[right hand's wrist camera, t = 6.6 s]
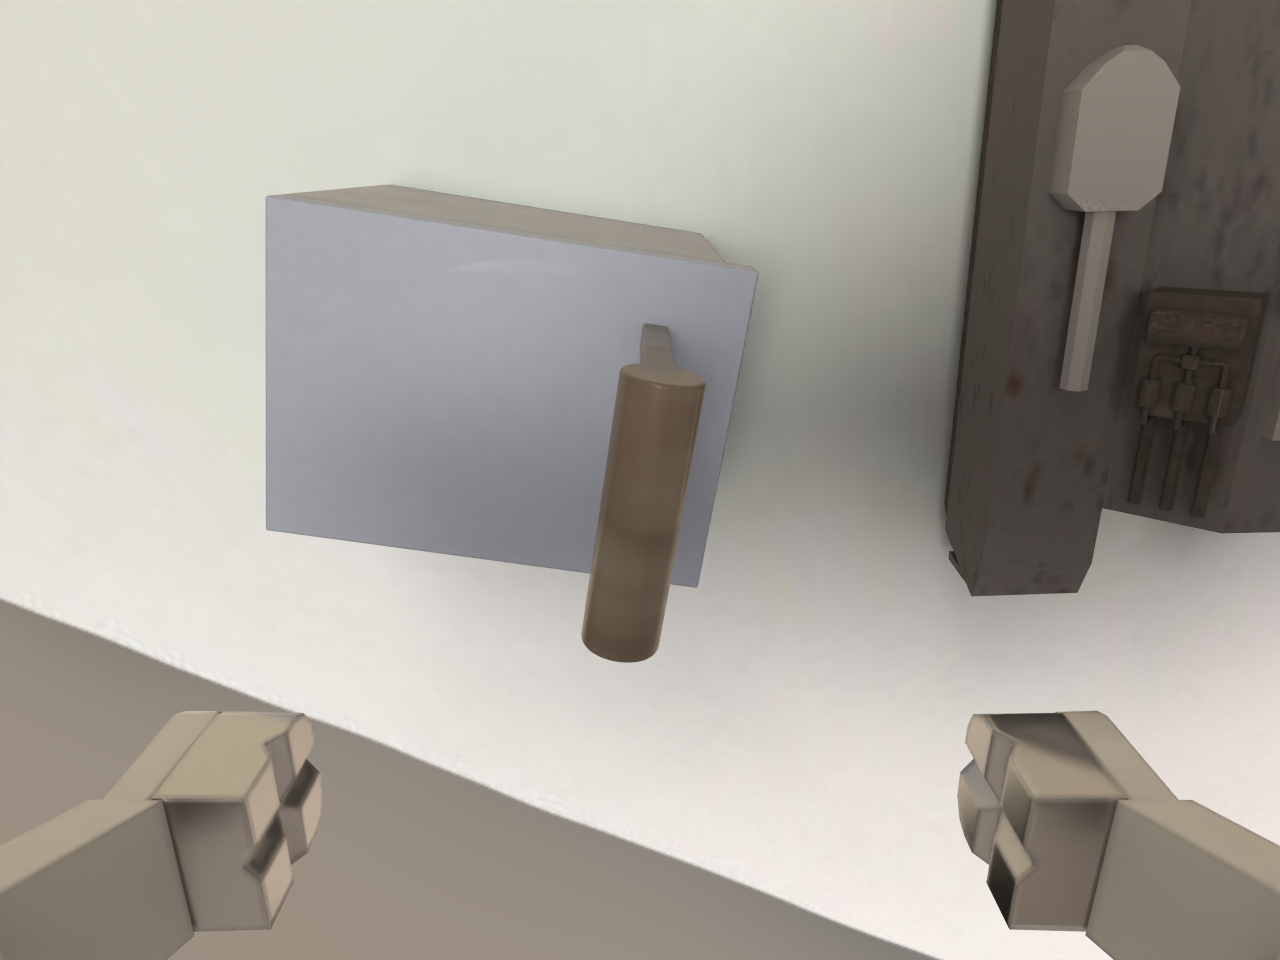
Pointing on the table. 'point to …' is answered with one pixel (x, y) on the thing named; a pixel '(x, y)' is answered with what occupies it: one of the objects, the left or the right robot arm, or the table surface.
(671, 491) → the lid
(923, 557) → the table surface
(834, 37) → the table surface
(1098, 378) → the toy
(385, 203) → the chest
